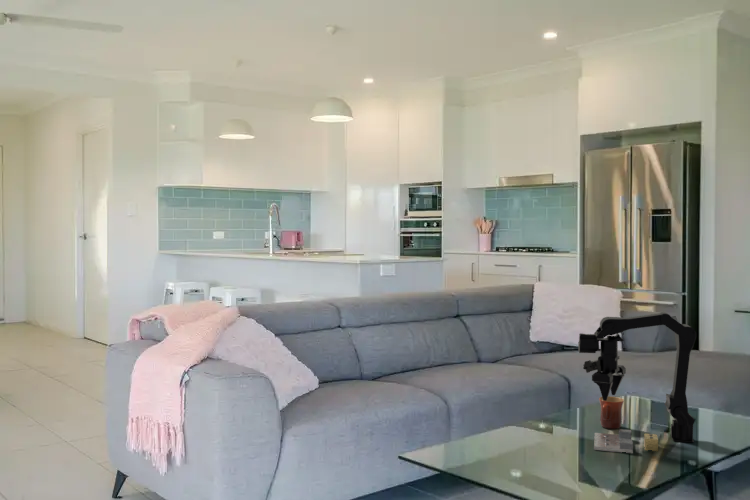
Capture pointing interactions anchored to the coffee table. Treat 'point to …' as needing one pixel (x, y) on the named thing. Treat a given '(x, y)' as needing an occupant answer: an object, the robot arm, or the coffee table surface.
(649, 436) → the block
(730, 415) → the coffee table surface
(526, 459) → the coffee table surface
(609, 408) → the mug
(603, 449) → the steel hinge plate
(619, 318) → the robot arm
